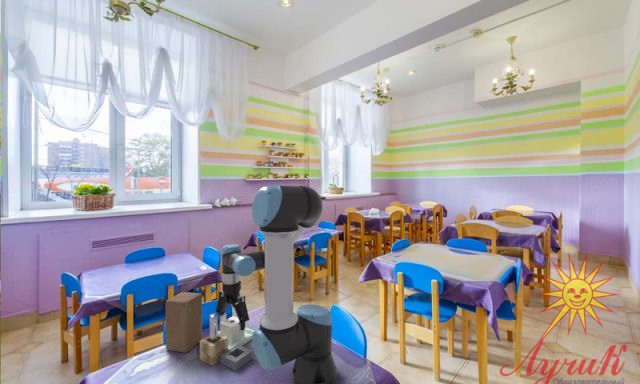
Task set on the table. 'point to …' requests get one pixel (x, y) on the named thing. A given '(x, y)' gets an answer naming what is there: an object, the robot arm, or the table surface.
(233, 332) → the white cube
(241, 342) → the mint tray
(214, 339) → the steel pin
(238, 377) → the table surface
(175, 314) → the wooden block
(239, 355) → the pin stand
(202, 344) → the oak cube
